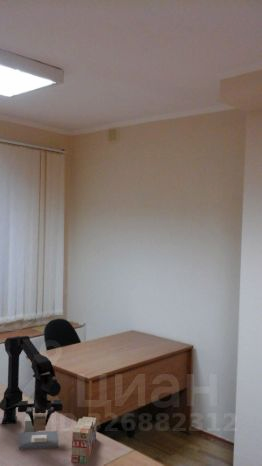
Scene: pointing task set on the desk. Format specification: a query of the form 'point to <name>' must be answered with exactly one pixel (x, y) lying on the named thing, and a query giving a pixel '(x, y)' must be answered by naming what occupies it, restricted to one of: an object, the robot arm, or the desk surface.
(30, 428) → the sage block
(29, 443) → the blueprint board
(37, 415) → the walnut block
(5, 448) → the desk surface
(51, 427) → the desk surface
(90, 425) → the stack of blocks
